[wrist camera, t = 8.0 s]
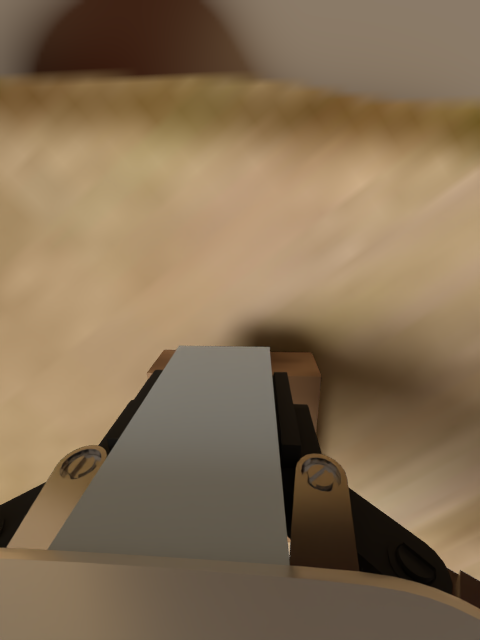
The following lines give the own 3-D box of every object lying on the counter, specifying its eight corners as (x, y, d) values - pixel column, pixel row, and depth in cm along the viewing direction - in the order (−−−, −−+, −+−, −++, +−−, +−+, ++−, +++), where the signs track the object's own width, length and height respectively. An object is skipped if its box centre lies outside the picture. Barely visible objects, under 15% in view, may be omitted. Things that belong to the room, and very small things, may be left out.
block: (269, 346, 12) (292, 586, 4) (267, 421, 13) (281, 710, 5) (178, 345, 12) (34, 569, 4) (186, 419, 13) (87, 691, 6)
